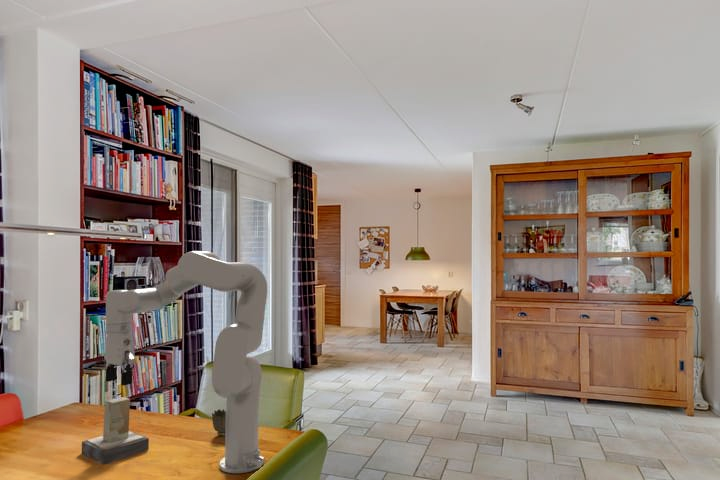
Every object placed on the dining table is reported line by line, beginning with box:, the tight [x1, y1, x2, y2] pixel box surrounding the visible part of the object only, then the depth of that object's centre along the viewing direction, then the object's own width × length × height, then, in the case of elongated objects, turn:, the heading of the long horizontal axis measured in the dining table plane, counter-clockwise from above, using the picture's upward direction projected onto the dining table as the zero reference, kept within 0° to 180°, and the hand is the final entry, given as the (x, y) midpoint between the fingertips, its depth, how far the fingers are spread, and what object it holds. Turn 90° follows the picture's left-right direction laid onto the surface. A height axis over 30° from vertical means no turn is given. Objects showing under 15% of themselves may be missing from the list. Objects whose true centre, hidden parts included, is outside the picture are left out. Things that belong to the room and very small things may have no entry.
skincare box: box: [102, 396, 131, 442], centre depth 150 cm, size 6×4×12 cm
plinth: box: [81, 429, 150, 466], centre depth 150 cm, size 14×14×4 cm
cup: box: [211, 409, 226, 437], centre depth 164 cm, size 8×7×8 cm
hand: (118, 382), depth 151 cm, fingers open, 9 cm apart
